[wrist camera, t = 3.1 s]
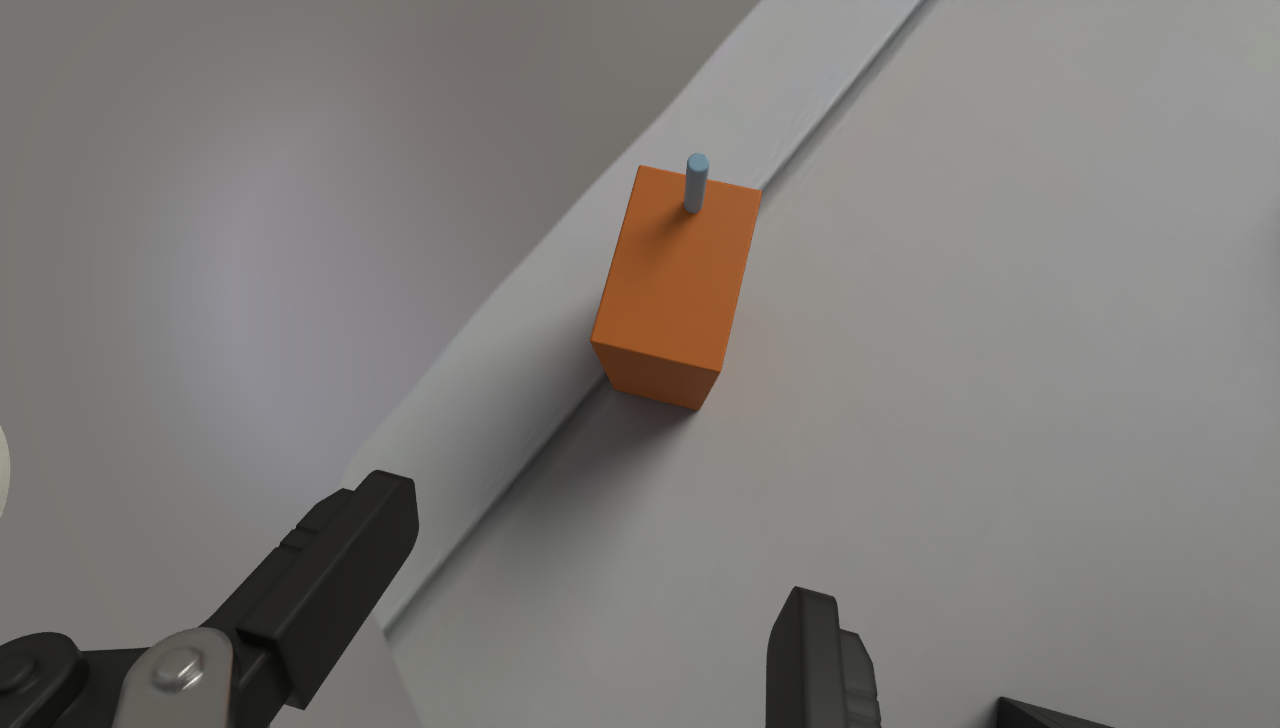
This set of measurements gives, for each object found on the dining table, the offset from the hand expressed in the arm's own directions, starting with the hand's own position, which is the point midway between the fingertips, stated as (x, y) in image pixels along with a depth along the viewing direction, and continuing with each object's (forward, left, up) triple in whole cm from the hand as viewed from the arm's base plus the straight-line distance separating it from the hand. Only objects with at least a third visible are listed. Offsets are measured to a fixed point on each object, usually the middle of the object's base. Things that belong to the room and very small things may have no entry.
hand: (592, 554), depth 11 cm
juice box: (0, +8, -13) cm, 15 cm away
